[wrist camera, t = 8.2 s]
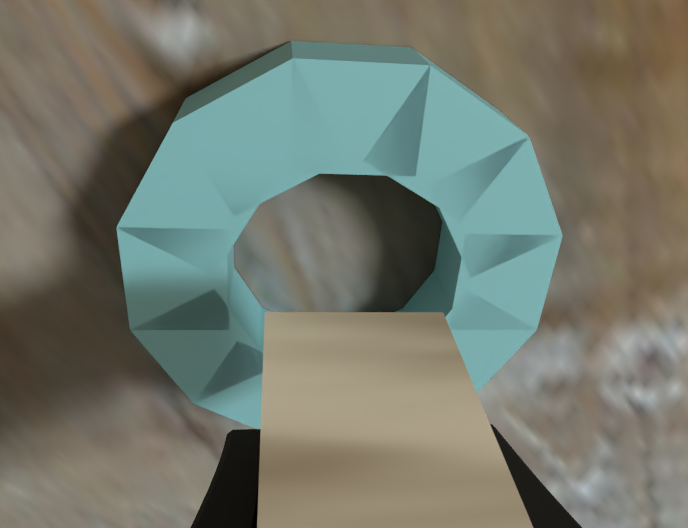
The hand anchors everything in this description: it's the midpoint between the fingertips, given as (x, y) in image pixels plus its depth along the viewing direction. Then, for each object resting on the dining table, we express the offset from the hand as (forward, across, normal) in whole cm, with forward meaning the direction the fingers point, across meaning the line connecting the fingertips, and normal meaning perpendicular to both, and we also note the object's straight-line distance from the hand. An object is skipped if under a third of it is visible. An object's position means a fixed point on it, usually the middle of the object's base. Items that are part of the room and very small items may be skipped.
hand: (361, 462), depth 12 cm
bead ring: (+9, 0, 0) cm, 9 cm away
